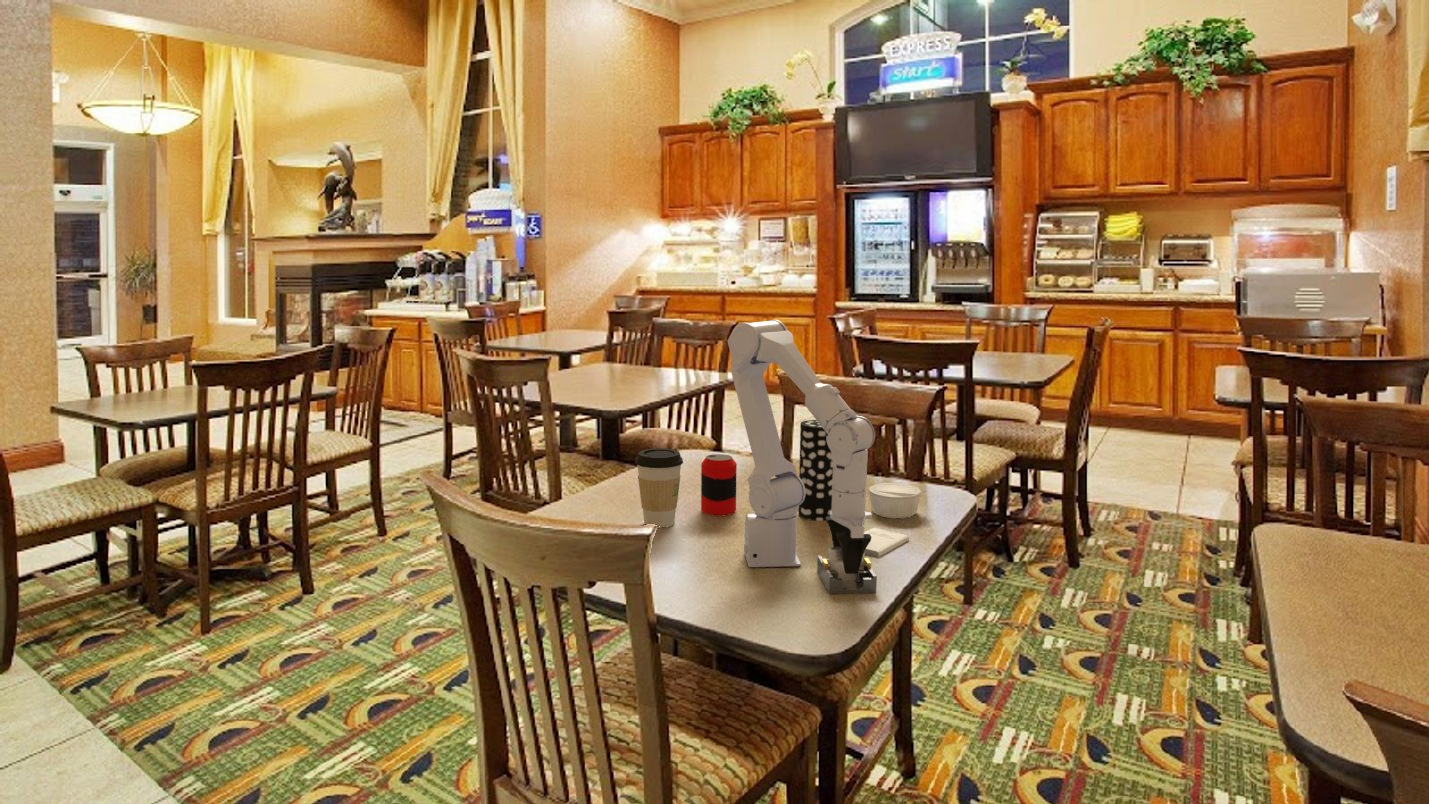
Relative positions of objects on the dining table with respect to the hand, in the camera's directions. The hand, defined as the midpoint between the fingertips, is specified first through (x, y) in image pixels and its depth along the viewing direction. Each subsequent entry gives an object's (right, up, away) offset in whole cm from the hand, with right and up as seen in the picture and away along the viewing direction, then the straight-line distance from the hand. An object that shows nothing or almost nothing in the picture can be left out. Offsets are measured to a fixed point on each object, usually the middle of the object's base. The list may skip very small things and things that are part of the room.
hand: (846, 565), depth 157 cm
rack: (0, -3, +1) cm, 3 cm away
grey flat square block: (0, -2, 0) cm, 3 cm away
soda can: (-22, +4, +41) cm, 46 cm away
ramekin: (+16, +4, +41) cm, 44 cm away
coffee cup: (-34, +3, +32) cm, 47 cm away
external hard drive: (+9, 0, +21) cm, 22 cm away
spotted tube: (-1, +4, +39) cm, 39 cm away
